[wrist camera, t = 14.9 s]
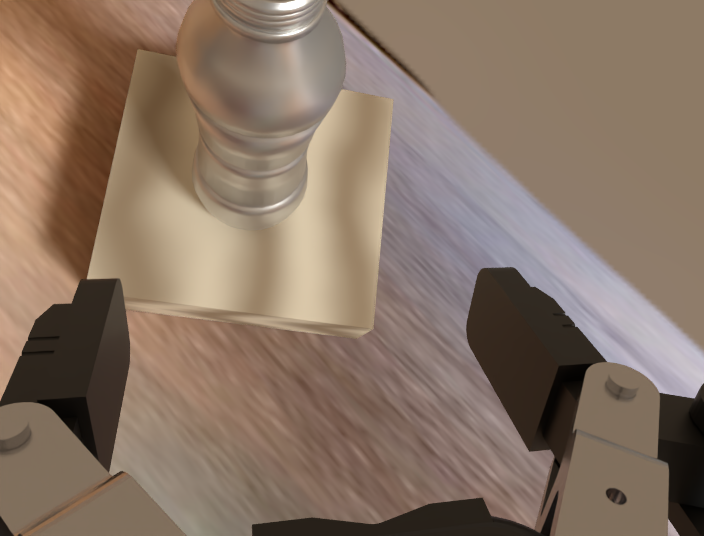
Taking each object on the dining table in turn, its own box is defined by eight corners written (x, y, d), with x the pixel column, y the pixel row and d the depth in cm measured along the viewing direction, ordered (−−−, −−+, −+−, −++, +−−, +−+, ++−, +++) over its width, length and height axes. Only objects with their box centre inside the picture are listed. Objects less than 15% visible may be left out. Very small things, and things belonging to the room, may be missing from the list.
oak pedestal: (102, 306, 38) (83, 291, 34) (148, 89, 42) (137, 49, 38) (356, 338, 41) (373, 328, 36) (376, 132, 45) (393, 99, 40)
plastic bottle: (207, 131, 37) (182, -163, 18) (312, 157, 38) (391, -97, 19) (182, 226, 36) (126, 11, 16) (292, 250, 37) (359, 73, 17)
